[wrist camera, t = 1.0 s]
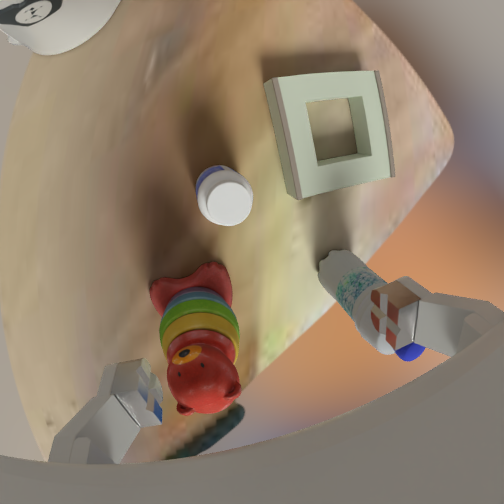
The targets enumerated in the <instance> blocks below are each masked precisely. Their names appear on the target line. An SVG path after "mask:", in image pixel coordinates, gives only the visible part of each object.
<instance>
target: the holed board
mask: <svg viewBox="0 0 504 504" xmlns="http://www.w3.org/2000/svg"><path fill="white" fill-rule="evenodd" d="M264 88H265V92H266V97H267V101H268V105H269V109H270V114H271V118H272V123H273V127H274V132H275V136H276V141H277V145H278V150H279V155H280V160H281V164H282V169H283V174H284V179H285V184H286V189H287V194H289V195H290V196H292V197H294V198H295V199H297V200H301V199H303V198H305V197H309V196H313V195H317V194H321V193H325V192H329V191H333V190H337V189H341V188H346V187H350V186H354V185H358V184H362V183H367V182H371V181H375V180H380V179H384V178H389V177H395V168H394V158H393V149H392V141H391V134H390V127H389V120H388V114H387V108H386V103H385V97H384V92H383V87H382V82H381V78H380V73H379V71H345V72H327V73H314V74H303V75H294V76H286V77H278V78H277V77H275V78H271V79H270V80H268V81H267V82H265V83H264ZM343 98H348V101H349V106H350V111H351V116H352V122H353V127H354V133H355V139H356V146H357V152H358V153H357V154H351V155H346V156H341V157H336V158H330V159H326V160H321V161H317V159H316V153H315V148H314V142H313V137H312V132H311V127H310V122H309V117H308V113H307V108H306V103H308V102H316V101H324V100H333V99H343Z"/></svg>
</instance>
